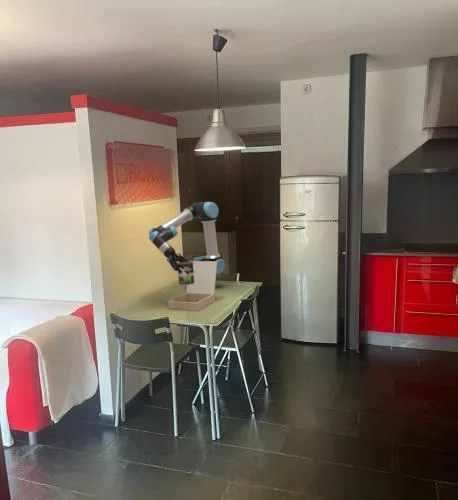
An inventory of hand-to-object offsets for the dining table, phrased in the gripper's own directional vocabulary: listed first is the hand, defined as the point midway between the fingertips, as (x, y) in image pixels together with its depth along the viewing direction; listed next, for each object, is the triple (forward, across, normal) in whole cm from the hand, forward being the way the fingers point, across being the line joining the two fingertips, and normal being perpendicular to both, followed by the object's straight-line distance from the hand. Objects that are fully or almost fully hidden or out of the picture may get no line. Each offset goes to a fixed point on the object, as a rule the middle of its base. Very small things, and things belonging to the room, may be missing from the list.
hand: (190, 274), depth 293 cm
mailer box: (+14, -4, -15) cm, 21 cm away
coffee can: (+3, 0, -7) cm, 7 cm away
